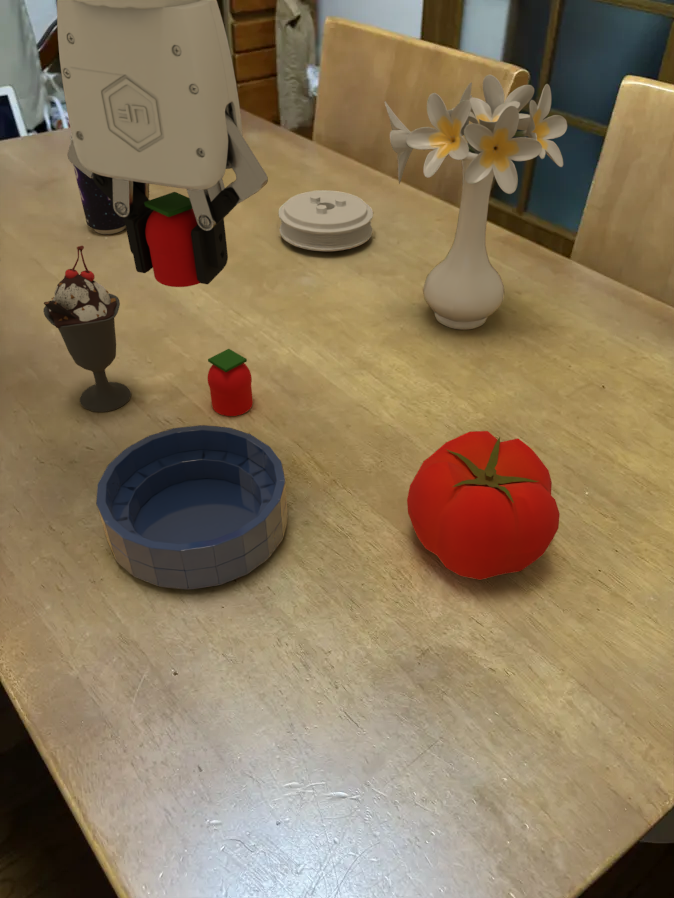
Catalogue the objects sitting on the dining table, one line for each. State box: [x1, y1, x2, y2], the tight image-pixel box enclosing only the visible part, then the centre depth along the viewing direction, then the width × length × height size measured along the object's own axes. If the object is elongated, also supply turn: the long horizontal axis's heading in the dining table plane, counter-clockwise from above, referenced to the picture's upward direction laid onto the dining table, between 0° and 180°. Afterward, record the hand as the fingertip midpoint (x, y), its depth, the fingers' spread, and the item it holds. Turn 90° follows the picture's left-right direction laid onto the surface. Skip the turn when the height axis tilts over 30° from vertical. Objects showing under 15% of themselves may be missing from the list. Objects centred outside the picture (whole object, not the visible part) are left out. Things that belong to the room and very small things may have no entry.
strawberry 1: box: [144, 191, 201, 288], centre depth 53 cm, size 4×4×5 cm
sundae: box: [43, 245, 132, 413], centre depth 70 cm, size 7×7×15 cm
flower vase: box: [384, 74, 568, 331], centre depth 80 cm, size 13×18×25 cm
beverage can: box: [68, 134, 126, 235], centre depth 99 cm, size 6×6×12 cm
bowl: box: [95, 424, 289, 591], centre depth 61 cm, size 14×14×5 cm
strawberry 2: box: [207, 348, 254, 417], centre depth 73 cm, size 4×4×5 cm
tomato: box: [406, 430, 561, 581], centre depth 59 cm, size 11×12×9 cm
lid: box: [277, 189, 374, 252], centre depth 101 cm, size 13×13×5 cm
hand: (181, 267), depth 54 cm, fingers closed on strawberry 1, 4 cm apart
